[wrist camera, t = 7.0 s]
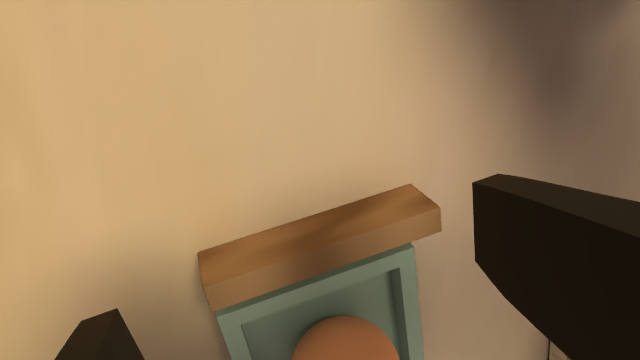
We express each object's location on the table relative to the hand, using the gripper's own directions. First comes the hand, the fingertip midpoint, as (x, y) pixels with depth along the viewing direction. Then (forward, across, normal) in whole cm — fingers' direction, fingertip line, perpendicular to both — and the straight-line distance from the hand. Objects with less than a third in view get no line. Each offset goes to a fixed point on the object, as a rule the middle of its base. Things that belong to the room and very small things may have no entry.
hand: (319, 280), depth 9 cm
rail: (+10, -2, +5) cm, 11 cm away
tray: (+10, -1, +11) cm, 15 cm away
